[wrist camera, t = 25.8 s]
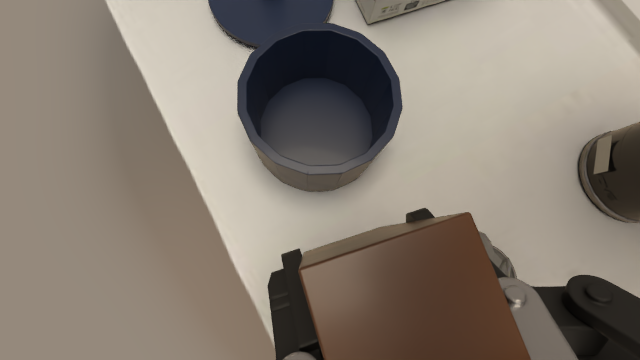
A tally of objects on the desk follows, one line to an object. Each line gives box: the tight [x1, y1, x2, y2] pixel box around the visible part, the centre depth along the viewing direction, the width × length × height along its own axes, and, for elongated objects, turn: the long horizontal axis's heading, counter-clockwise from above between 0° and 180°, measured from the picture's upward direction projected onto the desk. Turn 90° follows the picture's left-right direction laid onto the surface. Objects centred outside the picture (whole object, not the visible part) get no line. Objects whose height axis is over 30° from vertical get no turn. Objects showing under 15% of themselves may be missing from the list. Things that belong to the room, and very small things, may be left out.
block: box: [298, 212, 531, 360], centre depth 11 cm, size 4×4×9 cm
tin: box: [237, 23, 402, 192], centre depth 26 cm, size 12×12×8 cm
